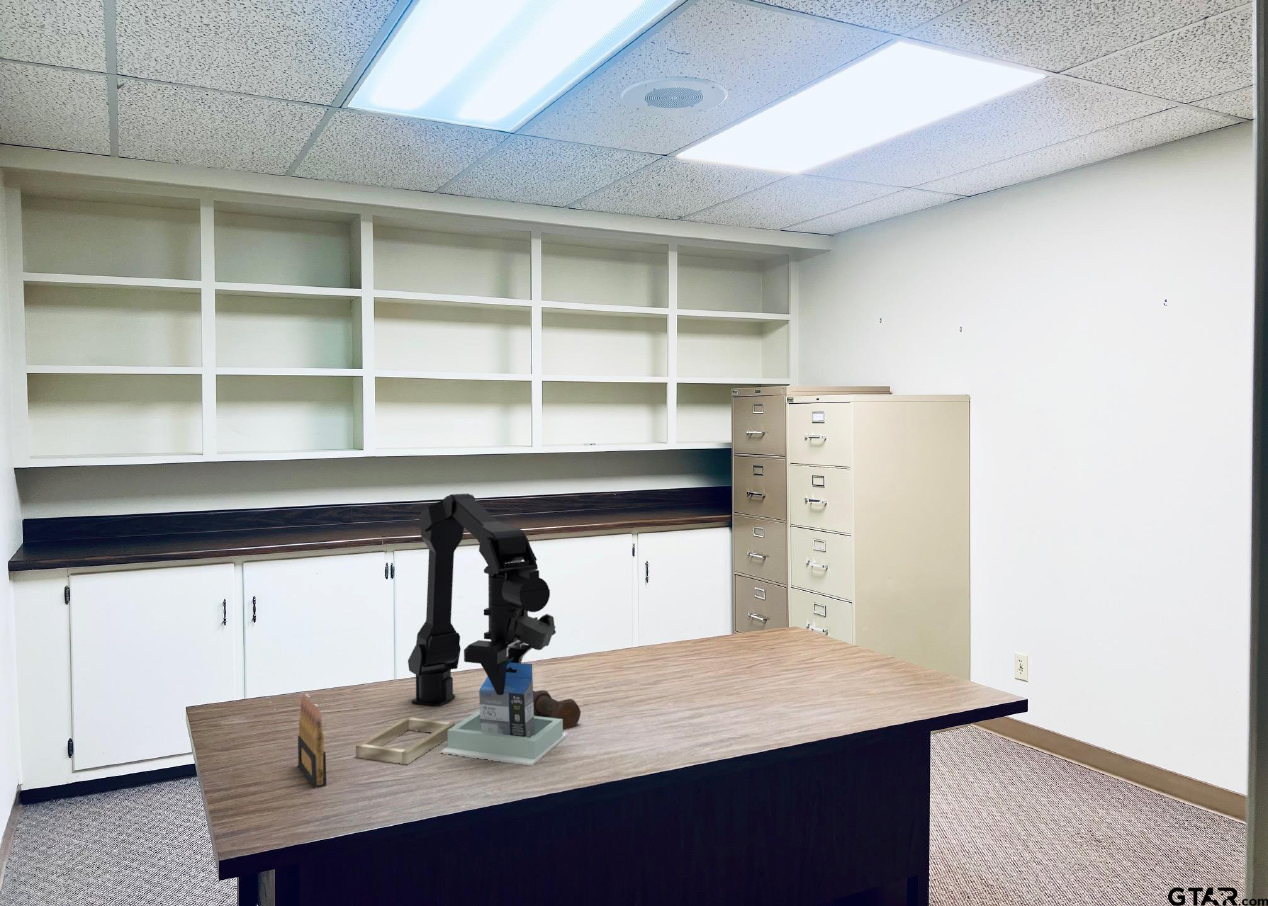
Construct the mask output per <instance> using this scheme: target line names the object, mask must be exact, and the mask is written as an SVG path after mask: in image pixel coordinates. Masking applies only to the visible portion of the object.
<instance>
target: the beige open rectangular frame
mask: <svg viewBox="0 0 1268 906" xmlns="http://www.w3.org/2000/svg"><path fill="white" fill-rule="evenodd" d="M455 725H456V723H455V722H449V721H441V720H432V719H425V718H424V719H423V718H417V717H408V716H407V717H405V718H403V719H401V720H399V721H397V722H395V723H394V724H392V725H390V726H388V727H387V728H384V729H383V730H381V731H380V732H378V733H376V734H374V735H372V736H370V737H369V738H366V739H365V740H363V741H361V742H359V743H357V744H356V745H355V758H356V759H357V758H358V759H364V760H371V761H377V762H378V761H379V762H386V763H392V764H399V763H400V764H401V765H406V764H408V765H409V763H410V764H411V763H413V762H414V761H415V759H416V758H417V759H419V758H420V757H422V756H423V755H425V754H426V752H427V753H428V752H430V751H431V750H433V749H434V748H436V747H437V746H439V745H440V744H442V743H444V742H445V741H447V740H448V732H447V730H449V729H450V728H452V727H454V726H455ZM407 730H408V731H410V730H417V731H421V732H420V733H425V732H431V733H429V735H428V736H425V737H424V738H423V739H421V740H419V741H418V742H416V743H414V744H413V745H411V746H409V747H408V748H406V749H402V748H396V747H388V746H384V745H386V744H387V742H388V743H389V741H390V742H391V741H393V740H395V739H397V738H398V737H400V736H402V735H404V734H405V733H406V732H405V731H407ZM408 731H407V732H408ZM417 731H416V732H417ZM404 732H405V733H404ZM401 734H402V735H401ZM399 735H400V736H399ZM446 739H447V740H446ZM443 741H444V742H443ZM441 742H442V743H441ZM438 744H439V745H438ZM435 746H436V747H435ZM433 747H434V748H433ZM432 748H433V749H432ZM430 749H431V750H430ZM429 750H430V751H429ZM424 753H425V754H424ZM422 754H423V755H422ZM418 757H419V758H418ZM417 759H416V760H417ZM412 761H413V762H412Z"/></svg>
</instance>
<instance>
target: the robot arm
mask: <svg viewBox="0 0 1268 906" xmlns="http://www.w3.org/2000/svg"><path fill="white" fill-rule="evenodd" d="M418 522H419V529H420V537H421V539H422V540H423V542H424V544H425V545H426V547H427V549H428V562H427V563H428V564H427V565H428V567H427V570H428V572H427V588H426V589H427V591H426V615H425V621H424V623H423V625H422V626H421V628H420V629H419V630H418V632H417V635H416V643H415V646H414V648H413V649H412V651H411V654H410V655H409V658H408V660H407V664H408V665H407V666H408V670H409V672H410V673H412V674H414V675H415V698H413V699H411V703H412V704H418V705H419V704H420V705H425V706H435V707H439V706H442V705H444V704H446V703H448V701H451V700H452V698H453V699H454V698H456V694H454V687H453V686H454V685H453V684H454V681H453V680H454V679H453V677H452V670H457V669H458V667H459V661H460V656H461V655H460V654H461V650H462V649H461V645H460V643H461V635H460V634H459V632H458V631H457V630H456V629H455V627H454V626H453V624H452V607H453V606H452V604H453V602H452V601H453V586H454V585H453V583H454V564H455V563H454V558H455V552H456V550H457V548H458V547H459V546H460V543H461V542H462V540H463V538H464V534H465V530H466V531H468V532H469V534H471V535H472V536H473V538H475V539H476V540H477V542H478V543H479V546H478V552H479V553H480V555H481V556H482V557H483V559H484V561H485V563H486V565H487V566H486V567H484V569H483V573H484V574H487V575H488V583H487V587H488V594H487V595H488V596H487V597H488V607H487V608H484V609H483V616H487V617H488V631H485V632H484V633H483V639H484V640H481V639H479V640H477V641H476V640H475V641H474V642H472V643H469V644H468V645H467V646H466V647H465V648H464V649H463V662H465V663H471V664H472V663H473V664H480V665H481V668H483V670H484V672H485V673H486V677H487V676H488V678H489V680H490V682H491V684H492V686H493V688H494V690H495V692H496V694H497V695H503V693H504V687H505V679H506V672H510V673H517V672H518V671H517V670H513V669H512V668H511V667H509V668H508V669H507V665H508V664H509V663H522V661H523V658H524V656H526V654H527V653H529V652H530V650H532V649H534V650H536V651H541V650H543V649H544V648H545V647H548V646H549V645H550V642H551V640H552V636H554V635H555V634H556V633H557V632H556V626H555V618H554V616H553V615H550V614H548V613H546V614H543V615H542V616H540V618H539V619H538V617H537V616H536V617H532V616H529V613H536V612H537V613H538V612H540V611H541V610H543V609H544V608H545V607H546V606H547V605H548V603H549V600H550V597H551V590H550V588H549V585H548V583H547V582H546V581H545V580H544V579H543V578H541V577H540V570H539V569H538V568H539V567H538V564H537V560H538V559H537V557H536V555H535V552H534V551H533V548H532V546H531V544H530V540H529V539H528V537H527V535H526V533H525V532H524V530H523V529H521V528H519V527H517V526H515V525H514V524H508V523H504V522H500V521H499V520H498V519H496V518H495V517H494V516H493V515H492V514H491V513H490V512H489V511H488V510H486V509H485V508H484V506H482V505H481V504H480V503H479V502H477V501H476V498H475V496H474V495H473V494H471V493H453V494H449V495H447V496H445V497H444V498H443V499H442V500H440V501H438V502H434V504H433V503H432V504H431V505H429V506H427V507H426V508H425V509H424V510H423V511H422V512H421V514H420V515H419V521H418Z"/></svg>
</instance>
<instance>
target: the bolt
mask: <svg viewBox="0 0 1268 906" xmlns="http://www.w3.org/2000/svg"><path fill="white" fill-rule="evenodd" d="M533 707H534V716H542V715H543V716H544V715H545V716H546V717H548V718H556V719H563V730H569V729H573V728H575V727H576V726H577V724H578V723H579V721H580V718H581V715H582V714H581V713H582V712H581V709H580V707H579V705H578V704H577V702H576V701H575V699H573V698H567V699H562V700H560V701H559V700H556V699H553V698H552V696H551V695H550V693H549V692H548V691H547V690H545V689H540V690H536V691H535V690H533Z"/></svg>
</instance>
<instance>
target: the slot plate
mask: <svg viewBox="0 0 1268 906" xmlns="http://www.w3.org/2000/svg"><path fill="white" fill-rule="evenodd" d="M447 732H448V739H447V746H446V747H445V748H443V749H442V750H440V754H441V753H443V754H442V755H448V754H452V755H451V756H455V755H458V756H457V757H462V756H465V757H464V758H471V759H477V758H479V759H478V760H484V759H488V760H487V761H492V760H493V761H494V762H499V761H500V762H501V763H507V764H516V765H521V764H522V765H524V766H529V767H533V766H534V765H535V764H536V763H537V762H538V761H541V759H542V758H543V757H544V756H546V755H547V754H548V753H549V752H550V751H551V750H552V749H554V748H555V747H557V745H559V744H560V743H561V742H562V741H563V740H564V739H566V737H568V736H569V732H567V731H566V732H565V731H563V719H556V718H551V717H549V716H540V715H534V734H533V735H532V736H531V737H530V738H528V737H520V736H511V735H503V734H495V733H487V732H481V723H480V709H478V710H476V712H474V713H473V714H471V715H470V716H468V717H466V718H465V719H463V720H462V721H459V722H458V723H457V724H455V726H454V727H452V728H450V729H449V730H447Z"/></svg>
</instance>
